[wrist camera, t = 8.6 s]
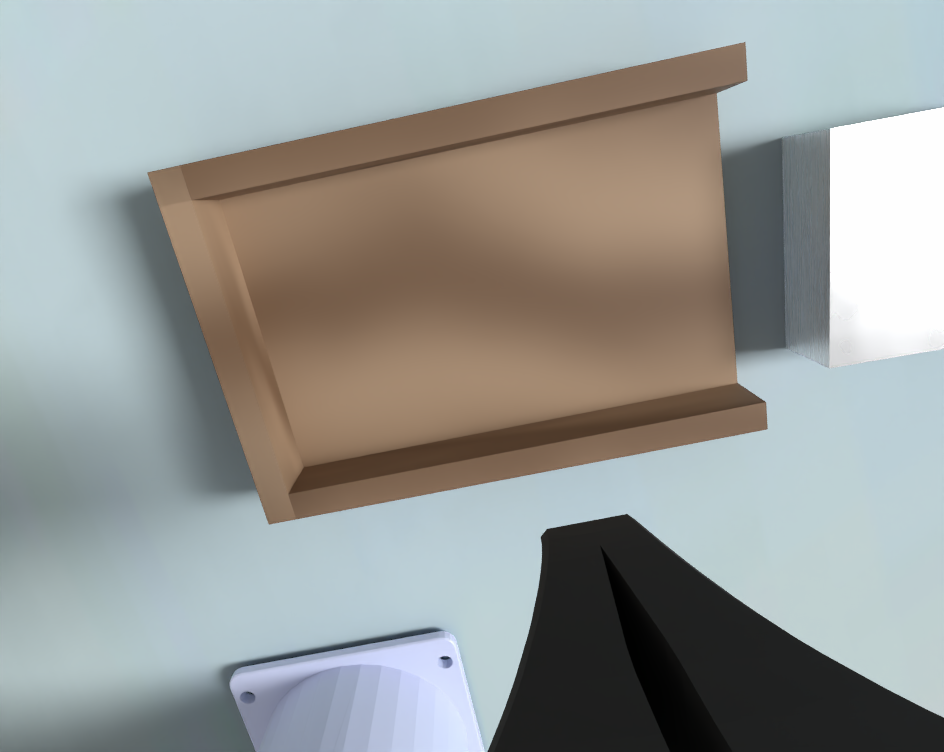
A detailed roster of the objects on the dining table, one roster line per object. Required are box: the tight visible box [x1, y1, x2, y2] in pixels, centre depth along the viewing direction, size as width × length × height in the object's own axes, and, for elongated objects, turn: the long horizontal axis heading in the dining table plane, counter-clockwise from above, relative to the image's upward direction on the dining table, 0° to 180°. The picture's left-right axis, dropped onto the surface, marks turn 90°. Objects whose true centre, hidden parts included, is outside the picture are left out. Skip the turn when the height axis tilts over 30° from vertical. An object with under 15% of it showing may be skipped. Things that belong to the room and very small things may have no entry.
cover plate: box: [782, 108, 944, 368], centre depth 16 cm, size 6×5×2 cm
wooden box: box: [148, 42, 767, 524], centre depth 16 cm, size 10×14×2 cm
